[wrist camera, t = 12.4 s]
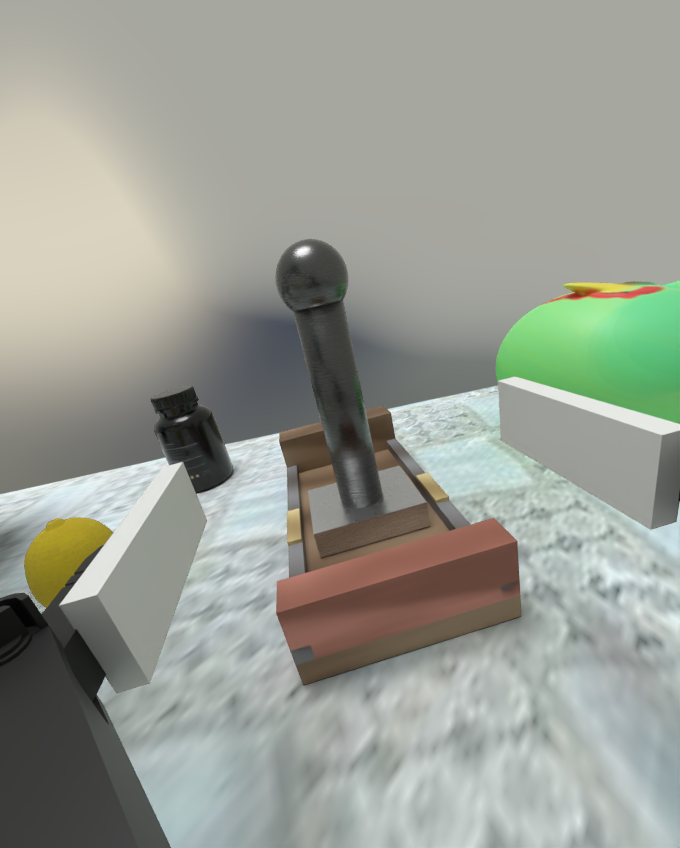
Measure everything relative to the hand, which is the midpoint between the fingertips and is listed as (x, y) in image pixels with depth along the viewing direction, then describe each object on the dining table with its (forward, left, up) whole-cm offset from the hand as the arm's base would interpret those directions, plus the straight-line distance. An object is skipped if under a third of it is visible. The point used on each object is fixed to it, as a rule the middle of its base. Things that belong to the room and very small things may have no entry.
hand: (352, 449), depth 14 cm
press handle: (-5, +9, -10) cm, 14 cm away
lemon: (-22, -2, -12) cm, 26 cm away
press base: (-6, +10, -12) cm, 17 cm away
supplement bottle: (-29, +16, -12) cm, 36 cm away
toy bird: (+14, +28, -12) cm, 33 cm away
